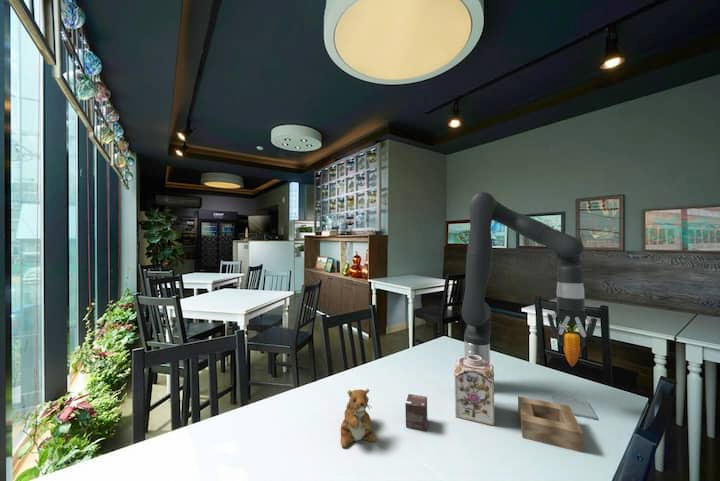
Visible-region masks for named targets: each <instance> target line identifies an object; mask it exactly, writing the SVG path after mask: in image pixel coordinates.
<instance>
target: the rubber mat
mask: <svg viewBox="0 0 720 481" xmlns="http://www.w3.org/2000/svg"><path fill="white" fill-rule="evenodd" d="M552 399H553V401H554V402H553V403H556V404H561V405H567V406H570V408H571V410H572V412H573V414H574V416H575V417H580V418H586V419H589V420H590V419H591V420H595V421H597V420H598V417H597V415H596V414H595V412H594V410H593V409H592V407H591V406H590V404H589V402H588V401H584V400H578V399H572V398H568V397H562V396H556V395H552Z"/></svg>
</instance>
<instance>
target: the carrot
mask: <svg viewBox="0 0 720 481" xmlns="http://www.w3.org/2000/svg"><path fill="white" fill-rule="evenodd" d="M577 327H578V325H575V326H566V328H565V330H567V331H564V332H563V337H564V346H563V350H564V355H565V358H566V360H567V362H568V364H569V365H570V367H571V368H572V367H574V366H575V365H576V364H577V362H578V359H579V356H580V352H581V348H580V336H579V335H580V334H578V333H576V332H575V331H576V329H577Z"/></svg>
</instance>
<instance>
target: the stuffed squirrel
mask: <svg viewBox="0 0 720 481" xmlns="http://www.w3.org/2000/svg"><path fill="white" fill-rule="evenodd" d="M369 392H370V389H369V388H366V389H365V390H364V389H354V390H350V389H347V394H348V398H349V399H348V402H347V404H346V406H345V408H346V409H345V410H344V414H343V415H344V419H343V420H342V423H341V425H340V445H341V447H342V448H347V447H348V446H349V445H350V444H351V443H352V442H353V441H361V440H364V441H368V442H372V443H373V442H375V441H376V438H377V437H376V435H375V433H374V431H372V420H371V417H370V414H369V413H368V411H367V410H366V408H368V409H369V410H371V409H372V407H373V406H370V404H368V403H369V400H370V399H369V397H368V395H367V394H368V393H369Z"/></svg>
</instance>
